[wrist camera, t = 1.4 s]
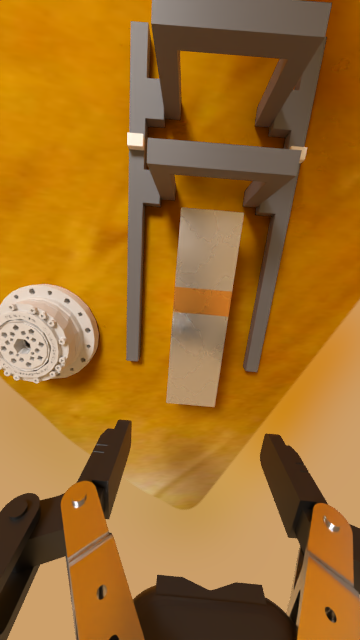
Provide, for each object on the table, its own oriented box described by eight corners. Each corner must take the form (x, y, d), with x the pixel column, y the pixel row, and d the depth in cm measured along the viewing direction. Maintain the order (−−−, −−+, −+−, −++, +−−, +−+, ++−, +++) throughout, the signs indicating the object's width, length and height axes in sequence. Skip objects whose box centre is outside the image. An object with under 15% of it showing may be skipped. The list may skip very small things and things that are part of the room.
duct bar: (182, 220, 18) (181, 207, 14) (230, 224, 18) (244, 212, 14) (169, 376, 23) (166, 402, 19) (209, 380, 23) (214, 407, 19)
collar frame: (134, 36, 15) (95, -136, 9) (317, 51, 15) (419, -112, 9) (129, 356, 22) (105, 395, 16) (254, 367, 22) (282, 411, 16)
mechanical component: (71, 387, 24) (118, 323, 22) (46, 414, 20) (101, 338, 17) (-8, 337, 22) (34, 263, 20) (-53, 354, 18) (-7, 262, 16)
